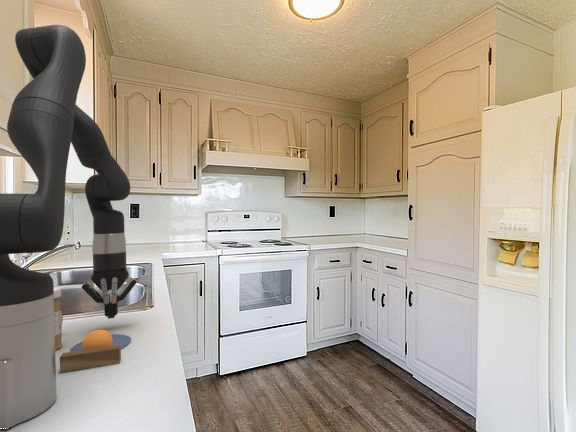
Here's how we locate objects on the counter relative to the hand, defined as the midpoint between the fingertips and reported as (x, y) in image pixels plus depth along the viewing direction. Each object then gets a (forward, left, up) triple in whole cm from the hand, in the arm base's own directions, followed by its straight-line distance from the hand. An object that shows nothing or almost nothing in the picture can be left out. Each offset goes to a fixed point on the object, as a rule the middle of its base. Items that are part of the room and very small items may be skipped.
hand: (111, 317), depth 81 cm
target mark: (-10, -5, -3) cm, 11 cm away
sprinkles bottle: (-12, +6, -3) cm, 14 cm away
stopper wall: (-18, -9, -3) cm, 21 cm away
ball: (-15, -8, 0) cm, 17 cm away
